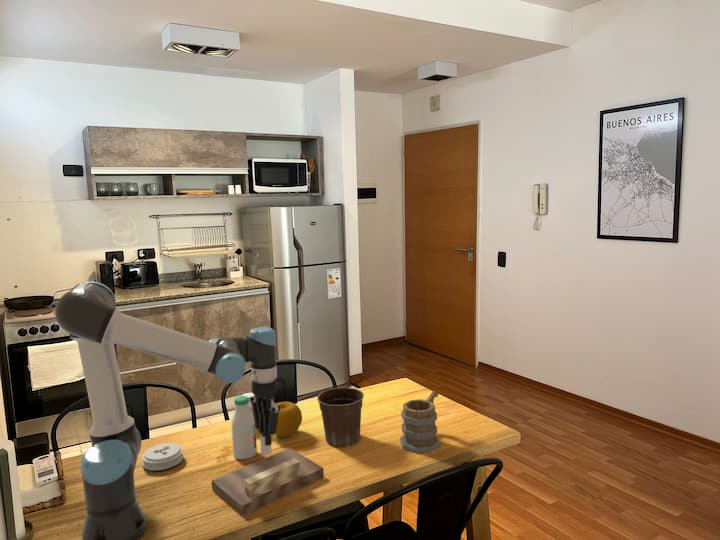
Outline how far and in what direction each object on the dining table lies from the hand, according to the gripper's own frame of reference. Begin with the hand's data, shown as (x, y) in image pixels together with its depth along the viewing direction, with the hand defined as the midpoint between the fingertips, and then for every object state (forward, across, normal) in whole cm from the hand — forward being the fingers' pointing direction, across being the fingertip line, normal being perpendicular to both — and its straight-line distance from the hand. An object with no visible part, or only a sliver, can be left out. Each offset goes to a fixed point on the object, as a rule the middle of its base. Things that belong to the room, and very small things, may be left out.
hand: (266, 453), depth 162 cm
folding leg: (+5, +8, -3) cm, 10 cm away
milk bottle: (+9, -19, +4) cm, 21 cm away
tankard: (+7, +19, +53) cm, 56 cm away
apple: (+8, -21, +22) cm, 32 cm away
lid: (+10, -34, -18) cm, 40 cm away
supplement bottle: (+9, -35, +16) cm, 40 cm away
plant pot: (+8, -3, +33) cm, 34 cm away
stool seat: (+8, +2, -1) cm, 9 cm away
